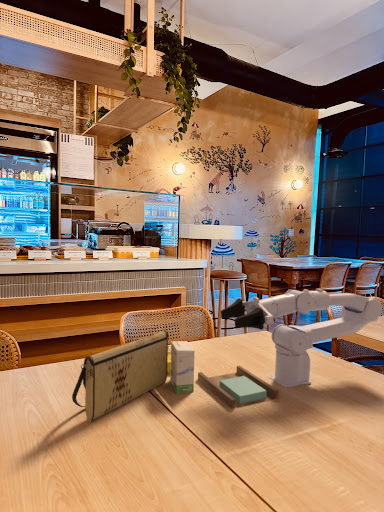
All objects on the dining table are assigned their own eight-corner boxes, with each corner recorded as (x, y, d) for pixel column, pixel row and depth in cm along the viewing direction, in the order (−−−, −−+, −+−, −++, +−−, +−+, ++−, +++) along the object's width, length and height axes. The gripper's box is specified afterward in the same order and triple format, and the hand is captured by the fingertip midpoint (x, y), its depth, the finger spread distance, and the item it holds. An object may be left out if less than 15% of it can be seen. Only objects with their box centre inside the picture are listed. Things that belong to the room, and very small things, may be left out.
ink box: (194, 393, 94) (195, 350, 93) (175, 395, 92) (176, 351, 91) (186, 380, 102) (187, 340, 101) (169, 381, 101) (170, 340, 100)
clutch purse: (152, 376, 104) (153, 326, 103) (171, 382, 100) (172, 330, 99) (64, 418, 80) (64, 353, 79) (84, 429, 76) (84, 360, 75)
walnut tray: (239, 373, 108) (239, 365, 107) (278, 399, 91) (278, 390, 91) (197, 381, 101) (198, 372, 101) (231, 410, 85) (231, 400, 85)
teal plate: (244, 382, 100) (244, 375, 100) (266, 398, 91) (266, 390, 91) (219, 387, 96) (219, 380, 96) (239, 404, 87) (240, 396, 87)
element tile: (142, 355, 122) (142, 342, 121) (185, 359, 120) (185, 345, 119) (128, 373, 107) (128, 357, 107) (177, 377, 105) (177, 361, 105)
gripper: (256, 288, 105) (214, 297, 100) (287, 300, 91) (241, 312, 87) (257, 310, 106) (216, 321, 101) (288, 326, 93) (243, 339, 88)
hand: (228, 318), depth 94 cm, fingers open, 7 cm apart
